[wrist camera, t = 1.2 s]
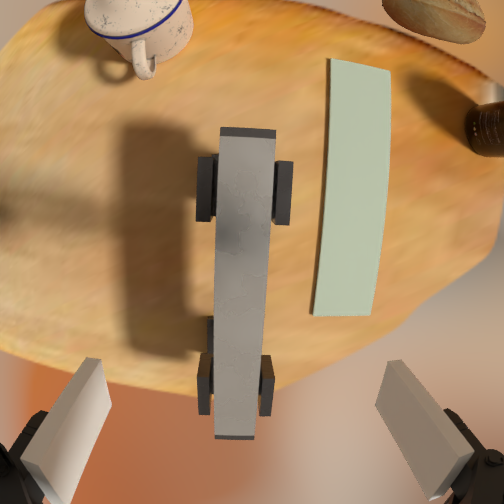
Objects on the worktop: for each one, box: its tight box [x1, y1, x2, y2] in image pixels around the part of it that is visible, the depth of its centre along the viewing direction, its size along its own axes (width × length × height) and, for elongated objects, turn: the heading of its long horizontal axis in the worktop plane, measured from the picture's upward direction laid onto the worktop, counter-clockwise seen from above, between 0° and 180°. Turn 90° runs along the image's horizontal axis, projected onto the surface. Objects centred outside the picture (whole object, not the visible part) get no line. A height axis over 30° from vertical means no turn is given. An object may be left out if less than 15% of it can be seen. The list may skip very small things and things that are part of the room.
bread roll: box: [382, 0, 486, 44], centre depth 23 cm, size 10×15×8 cm, turn 100°
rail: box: [214, 127, 276, 440], centre depth 24 cm, size 4×25×4 cm, turn 177°
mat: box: [312, 58, 391, 316], centre depth 32 cm, size 7×28×1 cm, turn 177°
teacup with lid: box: [84, 0, 193, 80], centre depth 21 cm, size 12×9×12 cm
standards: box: [196, 154, 293, 416], centre depth 28 cm, size 6×23×10 cm, turn 177°
